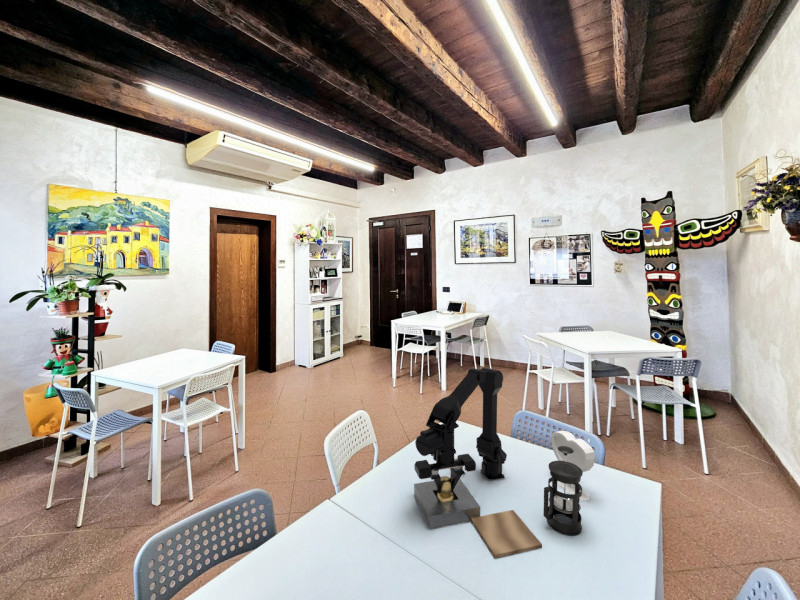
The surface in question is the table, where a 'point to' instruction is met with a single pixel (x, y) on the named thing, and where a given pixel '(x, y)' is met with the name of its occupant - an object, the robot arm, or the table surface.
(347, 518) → the table surface
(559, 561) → the table surface
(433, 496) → the plate
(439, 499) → the knob
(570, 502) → the french press
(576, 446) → the heart sculpture
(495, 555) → the board
